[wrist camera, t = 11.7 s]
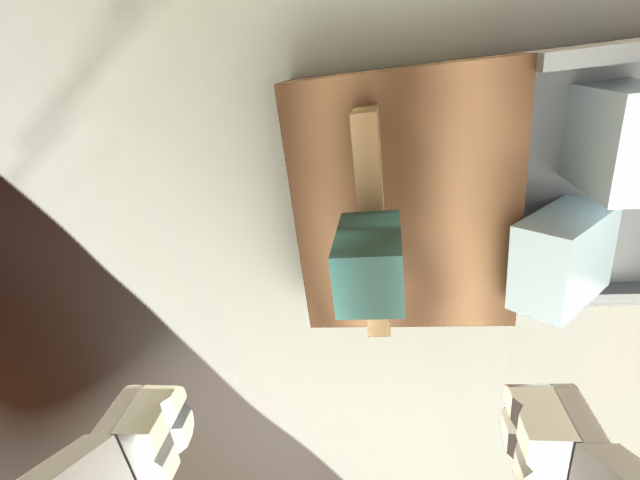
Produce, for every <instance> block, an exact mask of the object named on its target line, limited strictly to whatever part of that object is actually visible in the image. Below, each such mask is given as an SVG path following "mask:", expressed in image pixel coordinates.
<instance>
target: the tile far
mask: <svg viewBox="0 0 640 480" xmlns="http://www.w3.org/2000/svg"><path fill="white" fill-rule="evenodd" d="M622 210H623V209H619V210H607V209H605V208H604V207H602V206H601V205H600V204H598V203H597V202H596V201H594V200H593V199H590V198H583V197H577V196H570V195H563V196H562V197H560V198H558V199H557V200H555V201H553V202H551V203H550V204H548V205H546V206H544V207H543V208H541V209H539V210H537V211H536V212H534V213H532V214H531V215H529V216H527V217H525V218H524V219H522V220H520V221H518V222H517V223H515V224H513V225H512V226H510V239H509V254H508V268H507V283H506V297H505V309H508V310H511V311H513V312H516V313H518V314H521V315H523V316H526V317H529V318H531V319H534V320H536V321H539V322H541V323H544V324H547V325H549V326H552V327H554V328H557V329H559V330H561V329H562V328H563V327H564V326H565V325H566V324H567V323H568V322H570V321H571V320H572V319H573V318H574V317H575V316H576V315H577V314H578V313H579V312H580V311H581V310H582V309H583V308H584V307H586V306H587V305H588V304H589V303H590V302H591V301H592V300H593V299H594V298H595V297H596V296H597V295H598V294H599V293H601V292H602V291H603V290H604V289H605V288H606V287H607V286H608V285H609V282H610V277H611V271H612V266H613V260H614V254H615V249H616V243H617V238H618V232H619V227H620V221H621V216H622Z"/></svg>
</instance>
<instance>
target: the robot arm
mask: <svg viewBox="0 0 640 480" xmlns="http://www.w3.org/2000/svg"><path fill="white" fill-rule="evenodd" d="M186 398H187V394H186V392H185V389H184V387H182V386H169V385H128V386H126V387H125V388H123V390H122V391H121V392H120V394H119V395H118V396H117V398H116V399H115V400H114V402H113V403H112V405H111V406H110V407H109V409H108V410H107V412H106V413H105V414H104V416H103V417H102V418H101V420H100V421H99V423H98V424H97V425H96V427H95V428H94V429H93V431H92V432H91V434H88V435H86V434H85V435H83V436H81V437H80V438H78V439H77V440H75V441H74V442H72V443H71V444H69V445H68V446H66V447H65V448H63V449H62V450H60V451H59V452H57V453H56V454H54V455H53V456H51V457H49V458H48V459H46V460H45V461H43V462H42V463H40V464H39V465H37V466H36V467H34V468H33V469H31V470H30V471H28V472H27V473H25V474H24V475H22V476H21V477H19V478H18V479H16V480H172V479H173V477H174V475H175V473H176V471H177V469H178V466H179V464H180V462H181V461H180V457H179V453H180V452H181V451H183V450H184V449H185V448H186V447H187V446H188V445H189V442H190V440H191V437H192V433H193V429H194V415H193V412H192V409H191V408H190V407H189V406H187V405H186V404H185V403H184V402H185V400H186ZM502 398H503V401H504V404H505V407H504V408H503V409H502V410H501V418H500V424H501V434H502V438H503V443H504V446H505V449H506V452H507V454H509V455H510V456H511V457H512V458H513V459H514V461H513V474H514V477H515V480H640V458H639V457H638V456H636V455H635V454H633V453H632V452H630V451H629V450H627V449H626V448H625V447H623V446H622V445H620V444H614V443H611V442H610V440H609V438H608V437H607V435H606V433H605V432H604V430H603V429H602V427H601V425H600V424H599V422H598V420H597V419H596V417H595V415H594V414H593V412H592V410H591V409H590V407H589V405H588V404H587V402H586V400H585V399H584V397H583V395H582V394H581V392H580V390H579V389H578V387H577V386H576V385H574V384H510V385H504V387H503V393H502Z"/></svg>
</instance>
